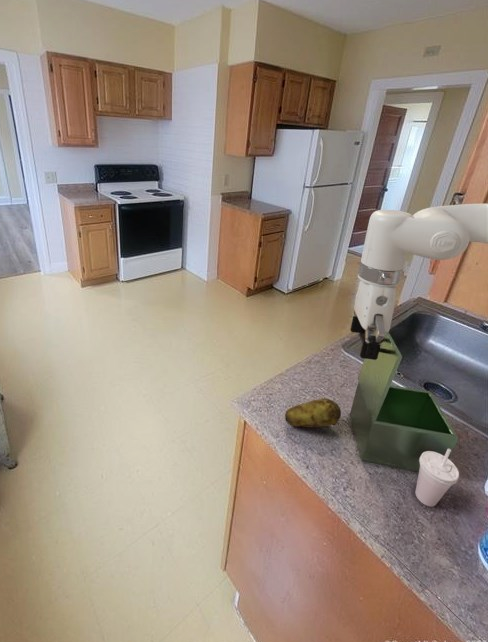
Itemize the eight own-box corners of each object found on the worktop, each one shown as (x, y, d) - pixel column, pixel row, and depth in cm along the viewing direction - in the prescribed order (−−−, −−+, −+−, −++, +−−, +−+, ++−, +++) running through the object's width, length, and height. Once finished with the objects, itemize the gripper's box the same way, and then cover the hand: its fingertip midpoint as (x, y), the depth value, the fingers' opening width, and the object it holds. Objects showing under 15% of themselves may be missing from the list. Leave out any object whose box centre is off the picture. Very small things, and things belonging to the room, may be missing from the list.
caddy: (417, 426, 83) (430, 391, 79) (441, 476, 71) (458, 438, 66) (349, 414, 86) (358, 380, 82) (361, 460, 74) (372, 422, 70)
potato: (287, 405, 89) (291, 382, 86) (337, 420, 84) (343, 397, 81) (282, 428, 82) (286, 404, 79) (336, 446, 77) (342, 422, 74)
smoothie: (451, 514, 64) (476, 466, 58) (419, 513, 64) (440, 465, 59) (431, 482, 70) (451, 435, 64) (401, 481, 70) (419, 434, 64)
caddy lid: (382, 320, 75) (357, 316, 76) (402, 356, 62) (373, 351, 63) (360, 379, 82) (338, 374, 83) (375, 421, 69) (349, 415, 70)
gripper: (417, 293, 56) (393, 373, 62) (386, 259, 71) (370, 325, 78) (370, 289, 57) (352, 367, 63) (350, 256, 73) (337, 321, 79)
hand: (362, 344), depth 71 cm, fingers open, 9 cm apart
